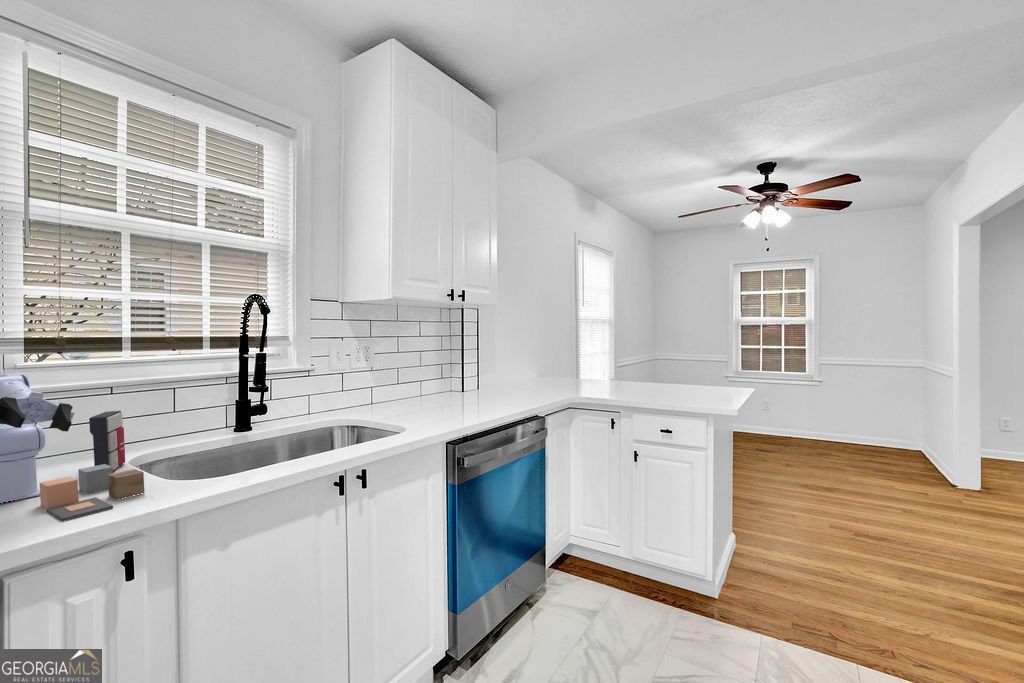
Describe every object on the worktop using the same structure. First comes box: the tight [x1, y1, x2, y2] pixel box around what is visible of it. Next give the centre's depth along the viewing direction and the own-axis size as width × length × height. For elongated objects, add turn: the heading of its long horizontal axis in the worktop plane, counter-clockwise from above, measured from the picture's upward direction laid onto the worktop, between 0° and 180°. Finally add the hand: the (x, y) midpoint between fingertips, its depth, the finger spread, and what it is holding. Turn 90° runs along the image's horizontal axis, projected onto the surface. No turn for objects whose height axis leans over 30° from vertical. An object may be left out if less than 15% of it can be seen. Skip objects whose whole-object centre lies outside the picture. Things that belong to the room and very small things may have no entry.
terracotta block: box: [39, 476, 80, 510], centre depth 107 cm, size 5×5×5 cm
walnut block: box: [108, 468, 145, 501], centre depth 112 cm, size 5×5×5 cm
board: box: [46, 496, 114, 522], centre depth 103 cm, size 10×8×1 cm
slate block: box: [77, 464, 114, 494], centre depth 117 cm, size 5×5×5 cm
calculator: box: [88, 410, 126, 471], centre depth 133 cm, size 11×4×15 cm, turn 22°
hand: (45, 424), depth 101 cm, fingers open, 7 cm apart
